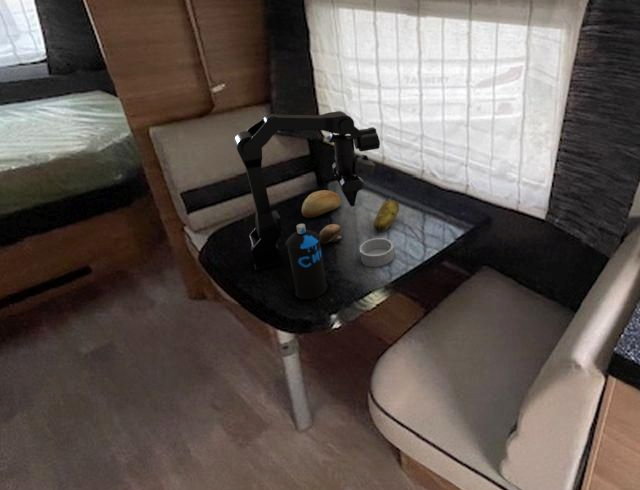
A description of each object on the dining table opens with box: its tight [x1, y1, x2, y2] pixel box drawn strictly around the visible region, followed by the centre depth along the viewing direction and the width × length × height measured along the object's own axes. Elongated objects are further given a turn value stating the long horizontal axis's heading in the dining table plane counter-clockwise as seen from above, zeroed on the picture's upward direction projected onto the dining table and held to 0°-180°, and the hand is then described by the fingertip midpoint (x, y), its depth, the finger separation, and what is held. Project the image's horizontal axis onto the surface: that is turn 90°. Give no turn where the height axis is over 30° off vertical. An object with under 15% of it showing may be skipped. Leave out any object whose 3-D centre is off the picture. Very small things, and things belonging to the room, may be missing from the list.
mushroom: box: [318, 223, 343, 245], centre depth 135 cm, size 8×8×6 cm
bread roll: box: [301, 189, 342, 219], centre depth 152 cm, size 10×15×8 cm, turn 141°
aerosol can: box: [285, 223, 328, 300], centre depth 109 cm, size 8×8×20 cm
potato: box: [373, 199, 400, 233], centre depth 144 cm, size 8×13×8 cm, turn 149°
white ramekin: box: [358, 237, 395, 268], centre depth 127 cm, size 10×10×4 cm
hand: (349, 200), depth 132 cm, fingers open, 9 cm apart
